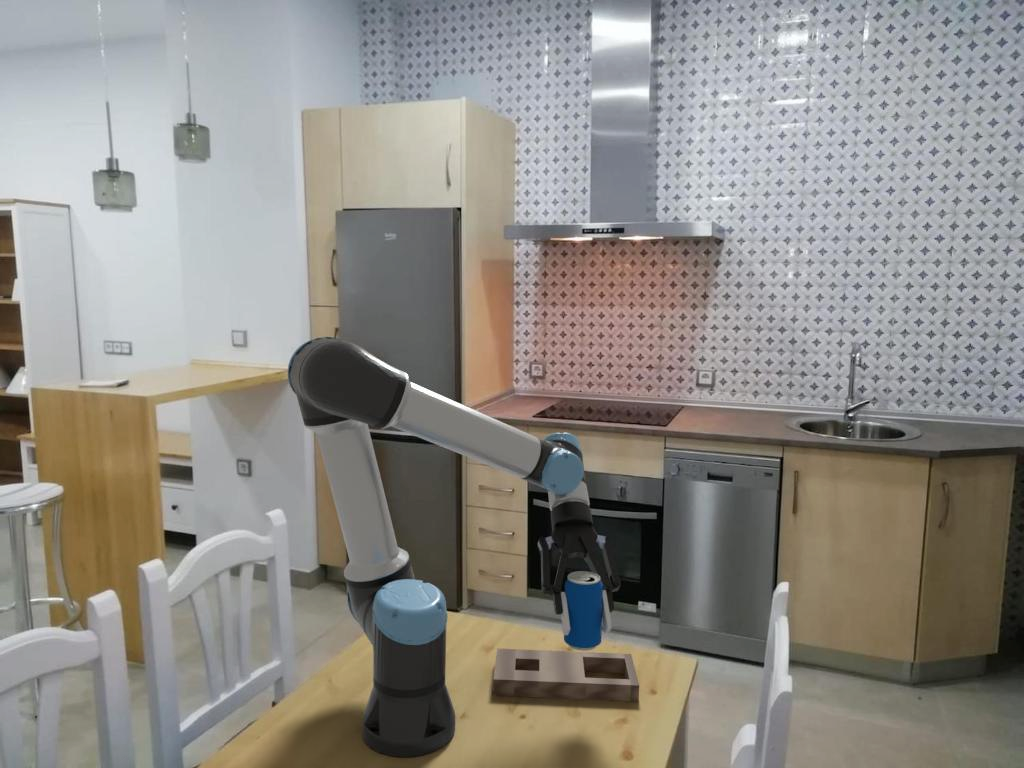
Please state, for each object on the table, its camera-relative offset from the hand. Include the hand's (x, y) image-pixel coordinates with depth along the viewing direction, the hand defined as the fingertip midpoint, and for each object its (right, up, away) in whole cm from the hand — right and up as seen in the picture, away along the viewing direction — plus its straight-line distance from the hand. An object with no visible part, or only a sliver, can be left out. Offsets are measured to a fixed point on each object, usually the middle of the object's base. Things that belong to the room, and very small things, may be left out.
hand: (587, 631), depth 125 cm
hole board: (-3, -14, +14) cm, 20 cm away
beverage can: (-1, -4, +4) cm, 6 cm away
